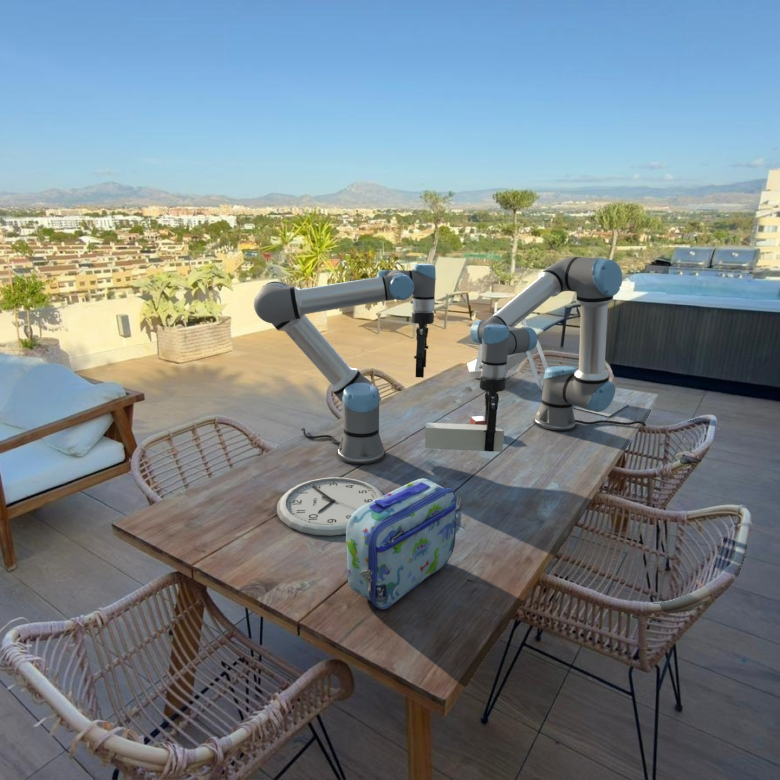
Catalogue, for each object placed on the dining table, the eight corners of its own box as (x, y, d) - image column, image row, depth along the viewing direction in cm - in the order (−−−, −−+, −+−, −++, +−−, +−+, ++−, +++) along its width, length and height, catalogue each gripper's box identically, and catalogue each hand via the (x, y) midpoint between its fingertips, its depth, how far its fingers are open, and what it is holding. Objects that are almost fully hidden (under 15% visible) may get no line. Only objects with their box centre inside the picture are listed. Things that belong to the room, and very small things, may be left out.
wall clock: (392, 527, 129) (269, 531, 127) (392, 533, 130) (269, 537, 127) (383, 473, 158) (282, 475, 155) (383, 478, 158) (283, 480, 156)
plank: (501, 445, 166) (502, 425, 164) (502, 451, 162) (503, 431, 160) (425, 442, 169) (426, 422, 167) (425, 448, 165) (425, 427, 163)
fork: (437, 530, 132) (438, 523, 131) (452, 500, 146) (452, 494, 145) (447, 532, 131) (448, 525, 130) (461, 502, 145) (462, 496, 144)
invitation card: (608, 416, 214) (573, 407, 224) (608, 416, 214) (573, 407, 224) (627, 404, 229) (594, 396, 238) (627, 405, 229) (594, 397, 239)
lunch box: (375, 622, 100) (376, 527, 94) (339, 595, 108) (338, 505, 101) (459, 565, 118) (465, 481, 112) (424, 545, 125) (427, 465, 119)
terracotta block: (482, 428, 200) (482, 415, 198) (487, 432, 195) (488, 420, 194) (469, 429, 199) (470, 416, 197) (474, 433, 194) (475, 421, 193)
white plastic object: (488, 419, 266) (468, 396, 241) (469, 346, 288) (449, 319, 263) (559, 395, 254) (545, 368, 229) (533, 321, 276) (519, 290, 251)
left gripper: (414, 305, 188) (412, 362, 195) (408, 316, 165) (406, 381, 171) (435, 306, 188) (433, 363, 194) (432, 317, 164) (429, 382, 170)
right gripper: (479, 368, 166) (475, 436, 173) (481, 384, 150) (477, 458, 157) (503, 369, 165) (498, 437, 173) (508, 385, 149) (502, 460, 156)
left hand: (420, 371), depth 183 cm, fingers open, 13 cm apart
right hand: (488, 447), depth 165 cm, fingers closed on plank, 4 cm apart
